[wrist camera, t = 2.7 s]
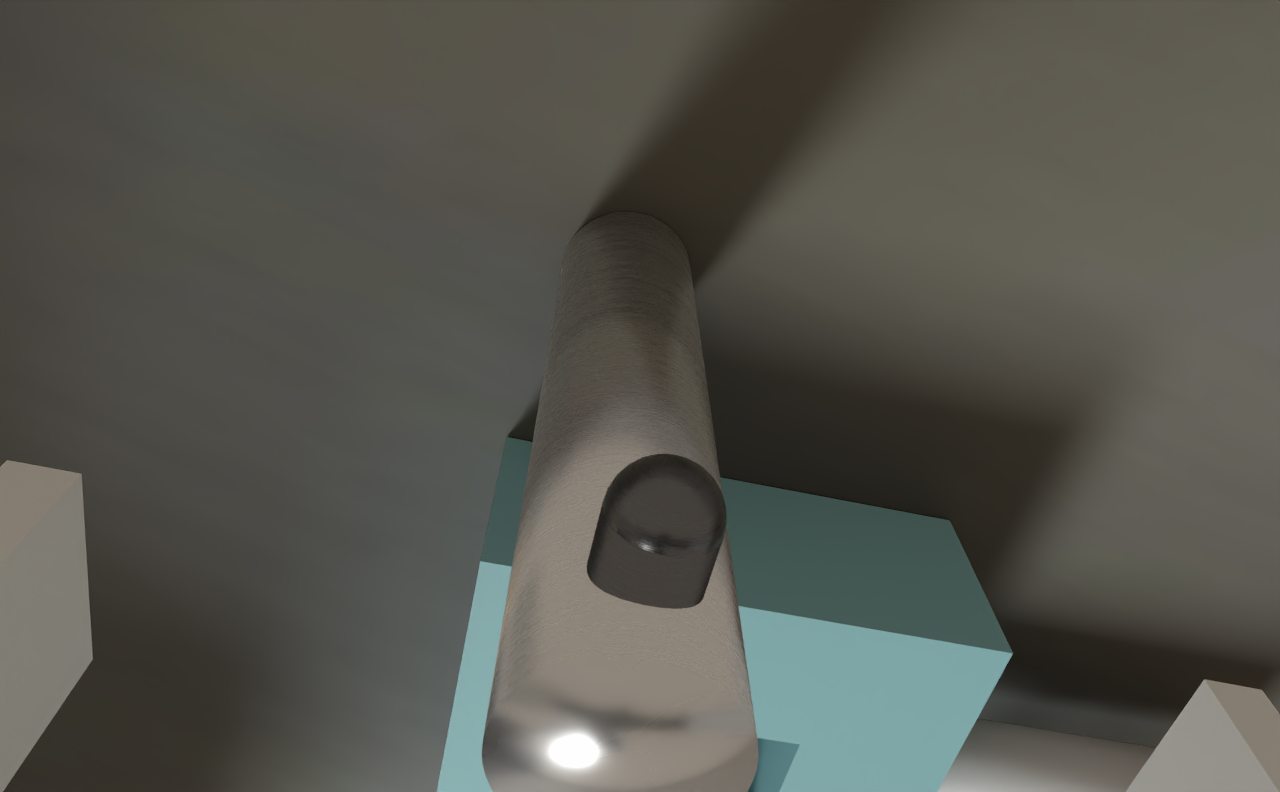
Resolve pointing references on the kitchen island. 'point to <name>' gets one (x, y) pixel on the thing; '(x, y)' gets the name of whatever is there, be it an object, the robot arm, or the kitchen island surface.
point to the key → (622, 546)
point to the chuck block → (831, 654)
